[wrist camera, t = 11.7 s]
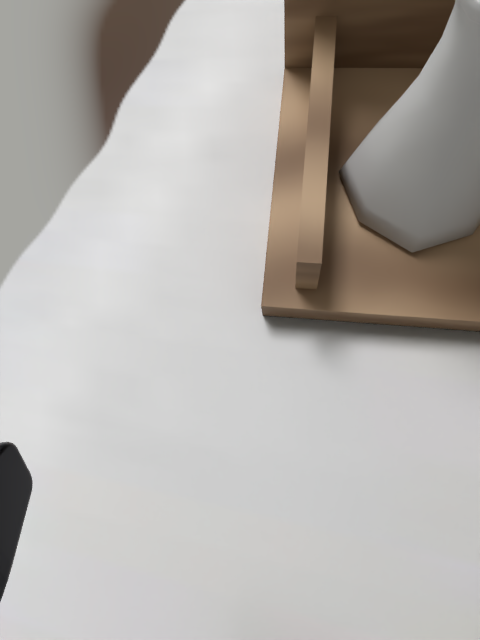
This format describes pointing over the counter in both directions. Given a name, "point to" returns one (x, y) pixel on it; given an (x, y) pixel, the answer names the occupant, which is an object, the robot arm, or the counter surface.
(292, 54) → the spice stand
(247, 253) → the counter surface
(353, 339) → the counter surface
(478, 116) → the flask
